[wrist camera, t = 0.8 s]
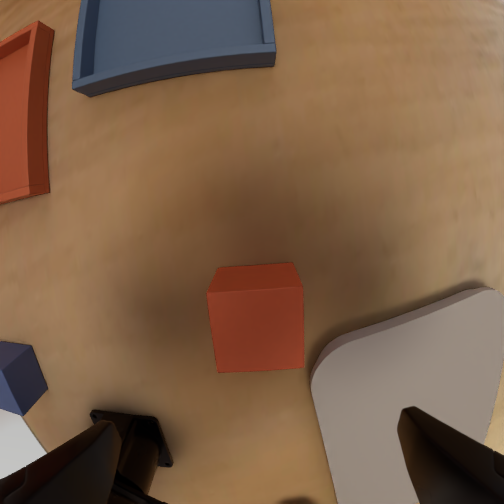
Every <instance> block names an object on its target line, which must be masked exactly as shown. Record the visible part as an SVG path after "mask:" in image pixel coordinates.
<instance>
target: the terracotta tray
mask: <svg viewBox="0 0 504 504" xmlns="http://www.w3.org/2000/svg"><path fill="white" fill-rule="evenodd" d="M53 36H54V30H53V29H51V28H50V27H48V26H46V25H45V24H43V23H42V22H40V21H36V22H34V23H32V24H30V25H29V26H27V27H25V28H23V29H21V30H19V31H18V32H16V33H14V34H13V35H11V36H9V37H7V38H6V39H4V40H3V41H1V42H0V205H1V204H4V203H8V202H12V201H16V200H20V199H24V198H28V197H32V196H36V195H41V194H45V193H49V192H50V190H49V177H48V159H47V98H48V81H49V69H50V59H51V50H52V43H53Z"/></svg>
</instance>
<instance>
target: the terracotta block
mask: <svg viewBox="0 0 504 504" xmlns="http://www.w3.org/2000/svg"><path fill="white" fill-rule="evenodd" d="M206 296H207V304H208V311H209V319H210V326H211V333H212V340H213V347H214V353H215V360H216V366H217V372H218V373H226V372H251V371H268V370H282V369H294V368H304V303H303V286H302V283H301V281H300V279H299V276H298V274H297V271H296V269H295V267H294V264H293V263H292V262H291V263H278V264H264V265H250V266H235V267H220V268H218V269H217V271H216V273H215V275H214V277H213V280H212V282H211V284H210V286H209V288H208V290H207V293H206Z"/></svg>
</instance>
